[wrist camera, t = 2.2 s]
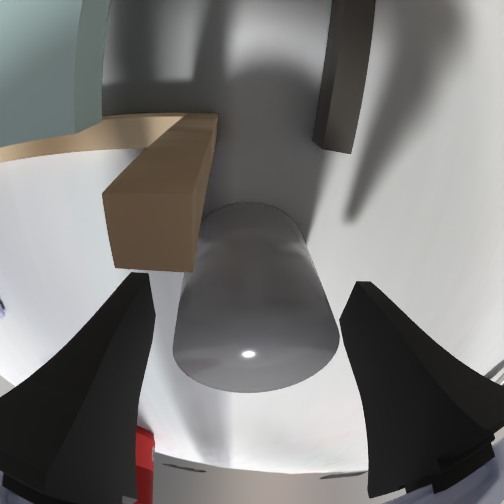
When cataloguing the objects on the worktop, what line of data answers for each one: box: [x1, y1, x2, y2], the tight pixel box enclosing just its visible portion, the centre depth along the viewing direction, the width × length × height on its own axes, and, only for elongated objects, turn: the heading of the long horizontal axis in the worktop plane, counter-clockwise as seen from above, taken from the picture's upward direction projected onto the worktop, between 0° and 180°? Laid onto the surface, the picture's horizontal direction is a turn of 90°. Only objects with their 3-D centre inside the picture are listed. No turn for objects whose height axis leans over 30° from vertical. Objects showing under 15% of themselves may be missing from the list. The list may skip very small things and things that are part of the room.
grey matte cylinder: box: [173, 202, 340, 393], centre depth 10 cm, size 5×5×5 cm
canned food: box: [122, 426, 155, 504], centre depth 20 cm, size 8×8×11 cm
